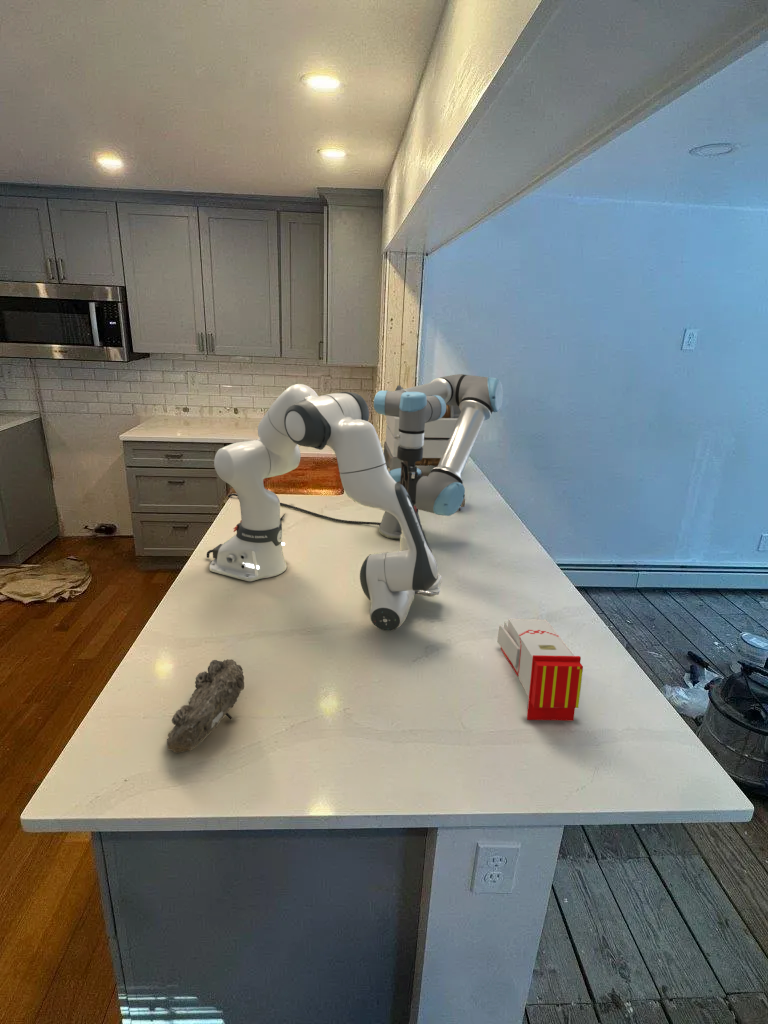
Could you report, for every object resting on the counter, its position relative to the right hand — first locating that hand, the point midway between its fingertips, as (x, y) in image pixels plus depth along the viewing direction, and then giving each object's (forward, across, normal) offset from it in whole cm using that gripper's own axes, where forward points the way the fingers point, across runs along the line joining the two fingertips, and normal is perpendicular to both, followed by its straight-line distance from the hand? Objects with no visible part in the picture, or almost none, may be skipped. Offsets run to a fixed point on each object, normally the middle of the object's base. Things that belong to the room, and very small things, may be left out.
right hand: (405, 520), depth 174 cm
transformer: (+13, -100, +25) cm, 104 cm away
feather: (+14, -41, -38) cm, 57 cm away
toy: (+14, +61, +18) cm, 65 cm away
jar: (+14, +18, -2) cm, 23 cm away
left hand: (+8, +18, -2) cm, 19 cm away
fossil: (+14, +68, -49) cm, 85 cm away
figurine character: (+14, -51, +30) cm, 61 cm away
